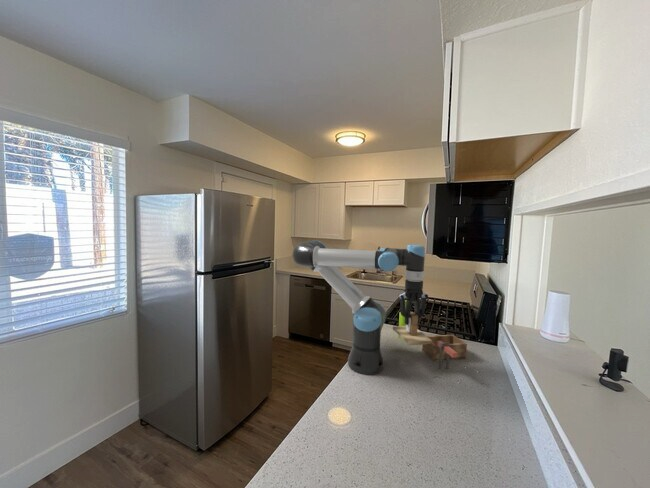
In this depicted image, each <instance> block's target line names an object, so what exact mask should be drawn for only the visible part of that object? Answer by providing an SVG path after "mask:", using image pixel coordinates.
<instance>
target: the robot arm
mask: <svg viewBox="0 0 650 488" xmlns="http://www.w3.org/2000/svg"><path fill="white" fill-rule="evenodd" d="M425 250H426V248H425V246H423V245H422V244H408V245H407V246H406V248H396V247H395V248H393V247H381V248H380V249H379V250H363V249H345V248H340V249H339V248H327V247H326V245H325V244H324V243H323V242H321V241H320V240H308V241H305V242H304V241H303V242H300V243H298V244H296V245H295V246H294V248H293V250H292V255H291V256H292V259H293V261H294V263H295V264H296V265H297V266H299V267H301V268H310V269H311V271H312V272H314V273H319V275H320V276H321V277H323V279H324V280H325V281H326V282H327V283H328V284H329V286H331V288H333V290H334V291H335V292H336V293H337V294H338V295H339V296H340V297H341V298H342V300H343V301H344V302H345V303H347V305H348V306H349V307H350V308H351V311H352V312H351V314H352V315H353V317H352V323H353V324H352V325H353V327H352V347H351V349H350V351H349V355H348V357H347V366H348V367H349V368H350V369H351V370H352V371H354V372H356V373H359V374H363V375H376V374H379V373H381V372H382V371H383V370H384V364H385V363H384V357H383V354H382V352H381V335H382V329H383V327H384V324H385V322H386V319H387V314H386V309H385V307H384V306H383V305H382V304H381V303H380V302H378V301H375V300H374V299H373V298H372V297H371V296H369V295H368V296H367V295H364V293H363V292H362V291H361V290H360V289H359V288H358V287H357V286H356V285H355V284H354V283H353V281H351V280H350V279H349V277H348V276H346V275H345V274H344V272H343V271H342V270H341V269H340V268H341V267H342V268H356V269H357V268H360V269H371V270H373V269H375V270H382V271H384V272H392V271H393V270H396V269H397V268H398V266H403V267H406V268H405V281H404V283H405V284H404V291H403V293H399V294H398V297H399V301H400V302H399V304H400V305H399V307H400V312H401V315H402V316H404V317H405V324H406V331H408V332H410V328H411V318H410V312H412V311H411V310H412V306H413V304H414V313H415V314H416V315H418V325H417V328H418V326H419V324H420V319H422V317H424V316H425V311H426V304H427V299H428V298H429V295H428V294H427V293H425V292H424V291H423V289H424V281H423V280H424V275H425V273H424V272H425V259H426V256H425V255H426V251H425ZM405 300H407V303H406V309H405ZM413 302H414V303H413Z"/></svg>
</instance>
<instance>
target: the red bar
mask: <svg viewBox="0 0 650 488" xmlns="http://www.w3.org/2000/svg"><path fill="white" fill-rule="evenodd" d="M440 343H442V341H437V345H438V346H439V347H440ZM443 350H444V351H445V352H446V353H447V354H449V355H450V356H451V357H452V358H455V357H457V354H458V353H457V352H456V351H454V350H453V349H452V348H450V347H449V346H448V345H443Z"/></svg>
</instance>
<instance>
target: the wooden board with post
mask: <svg viewBox="0 0 650 488" xmlns="http://www.w3.org/2000/svg"><path fill="white" fill-rule="evenodd" d="M410 318H411V328H410V332H408V331H406V326H399V325H398V326H392V330H393V331H394V333H396V334H397V336H398V335H399V336H400V337H401V338H402V339H401V338H400V339H401V340H403V341H404V342H406V343H407V345H409V346H420V345H421V346H422V345H423V344H432V340H431V339H430V338H428V337H427V336H428V335H426V334H424V332H422V331H421V330H420V329H418V327H417V325H418V326H419V324H418V315H416V314H415V312H413V311H410Z"/></svg>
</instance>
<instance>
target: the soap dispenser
mask: <svg viewBox="0 0 650 488" xmlns="http://www.w3.org/2000/svg"><path fill="white" fill-rule="evenodd" d="M406 303H407V299H405V309H406ZM412 304H414V301H413V303H412ZM398 317H399V318H398V326H406V324H405V317H404V316H402V315H401V311H399V316H398ZM397 336H398V338H399V339H401V340H403V339H402V338H401V337H400V336H399V335H398V334H397Z"/></svg>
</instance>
